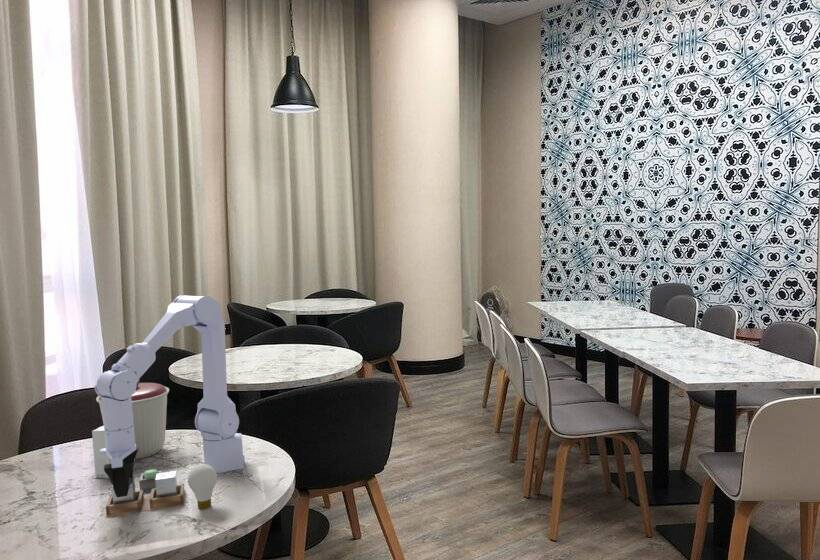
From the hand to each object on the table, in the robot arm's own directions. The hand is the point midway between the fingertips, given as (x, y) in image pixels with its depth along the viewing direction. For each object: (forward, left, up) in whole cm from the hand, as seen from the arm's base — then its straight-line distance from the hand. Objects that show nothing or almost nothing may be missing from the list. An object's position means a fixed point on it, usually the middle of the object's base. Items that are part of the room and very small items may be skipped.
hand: (124, 489), depth 145 cm
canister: (+1, -39, -5) cm, 39 cm away
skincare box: (+6, -25, -5) cm, 26 cm away
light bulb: (-16, +7, -5) cm, 18 cm away
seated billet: (-8, 0, -4) cm, 9 cm away
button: (-4, -10, -4) cm, 12 cm away
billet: (0, 0, -4) cm, 4 cm away
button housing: (-4, -10, -5) cm, 12 cm away
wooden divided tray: (-4, 0, -5) cm, 6 cm away
